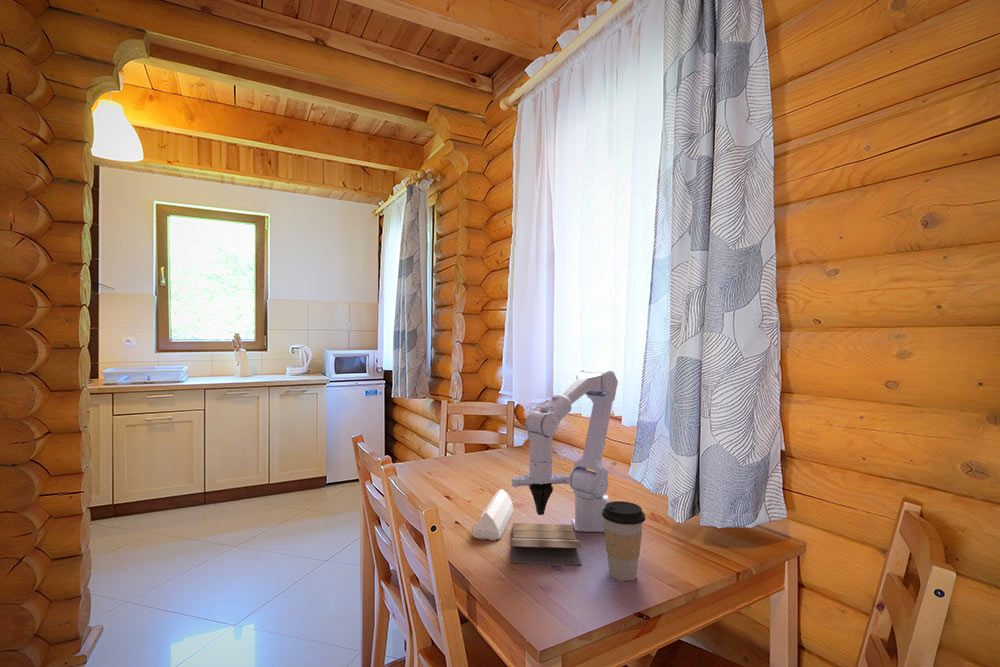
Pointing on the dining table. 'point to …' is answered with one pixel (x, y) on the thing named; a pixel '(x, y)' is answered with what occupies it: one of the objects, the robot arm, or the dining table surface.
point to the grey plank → (545, 543)
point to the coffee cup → (623, 538)
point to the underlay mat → (545, 555)
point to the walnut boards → (543, 531)
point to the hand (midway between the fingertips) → (540, 513)
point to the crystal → (494, 517)
